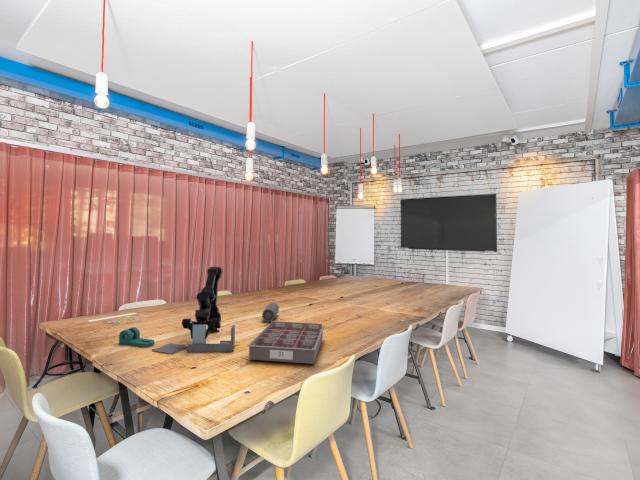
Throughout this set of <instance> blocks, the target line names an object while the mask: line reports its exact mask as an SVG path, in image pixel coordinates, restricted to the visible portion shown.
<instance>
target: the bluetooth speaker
mask: <svg viewBox="0 0 640 480" xmlns="http://www.w3.org/2000/svg"><path fill="white" fill-rule="evenodd" d="M279 307H280V306H279V305H278V303H276V302H270V303H269V304H268V305H267V306H266V307H265V308H264V310H263V311H262V314H261V316H262V319H263V320H264V321H265V322H271V321H274V319H275V318H276V317H277V315H278V313H279V310H280V308H279Z"/></svg>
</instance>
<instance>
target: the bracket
mask: <svg viewBox="0 0 640 480" xmlns="http://www.w3.org/2000/svg"><path fill="white" fill-rule="evenodd" d="M140 335H141V333H140V329H139V328H138V327H135V326H133V327H130V328H128V329H123V330H121V331H120V332H119V335H118V345H120V346H126V347H127V346H129V347H136V348H142V349H145V348H146V349H147V348H152V347H154V346H155V340H154V339H151V338H150V339H148V338H143V337H142V338H141V336H140Z"/></svg>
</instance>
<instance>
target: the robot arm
mask: <svg viewBox="0 0 640 480" xmlns="http://www.w3.org/2000/svg"><path fill="white" fill-rule="evenodd" d="M223 271H224V270H223V268H222V267H221V266H210V267H209V268H207V271H206V272H207V278H206V281H205V286H204V287H203V288H202V289H201V292H198V294H197V295H196V300H197V304H198V306H199V308H198V309H195V310H194V311H195V313H194V317H195V318H194V319H195V320H192V318H183V319H182V320H181V326H182V327H183V329H188V330H189V332H190V338H191V340H193V325H194V324H206V326H207V327H206V335H205V339H206V340H207V338H208V337H209V336H210V334H213V333H219V332H220V330H219V329H220V328H221V326H222V316H221V312H220V308H219V306H218V305H217V304H218V294H219V293H218V290H219V281H220V280H221V278H222V275H223V273H224V272H223Z"/></svg>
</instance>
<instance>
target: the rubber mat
mask: <svg viewBox="0 0 640 480" xmlns="http://www.w3.org/2000/svg"><path fill="white" fill-rule="evenodd" d="M186 349H187V345H186V344H185V345H184V344H178V343H173V342H169V343H167V344H165V345H162V346H159V347H157V348H155V349H152V350H151V352H153V353H159V354H164V353H165V354H166V355H170V354H171V355H174V354H176V353H178V352H180V351H182V350H186Z"/></svg>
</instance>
